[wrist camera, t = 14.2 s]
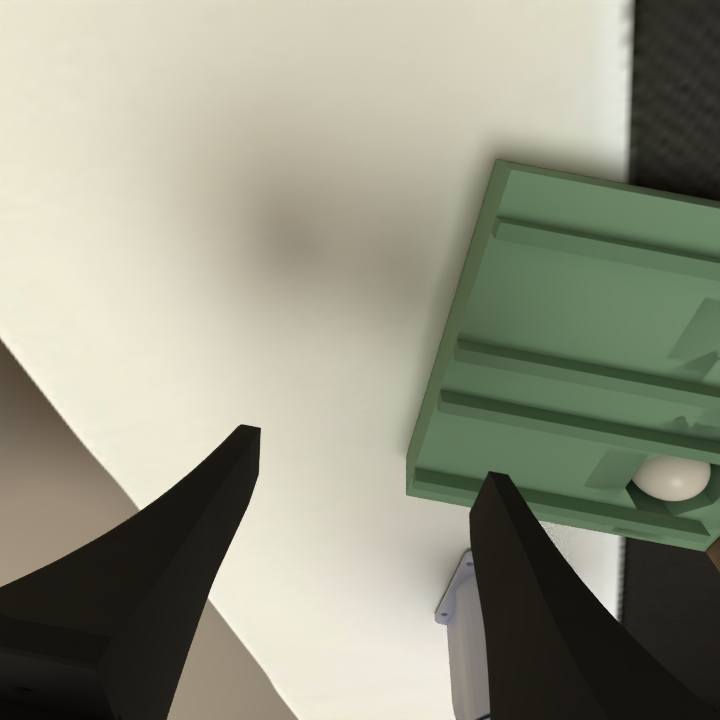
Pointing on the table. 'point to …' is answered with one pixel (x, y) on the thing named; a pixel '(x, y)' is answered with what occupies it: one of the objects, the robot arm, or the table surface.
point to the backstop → (715, 552)
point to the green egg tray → (580, 356)
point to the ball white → (672, 477)
